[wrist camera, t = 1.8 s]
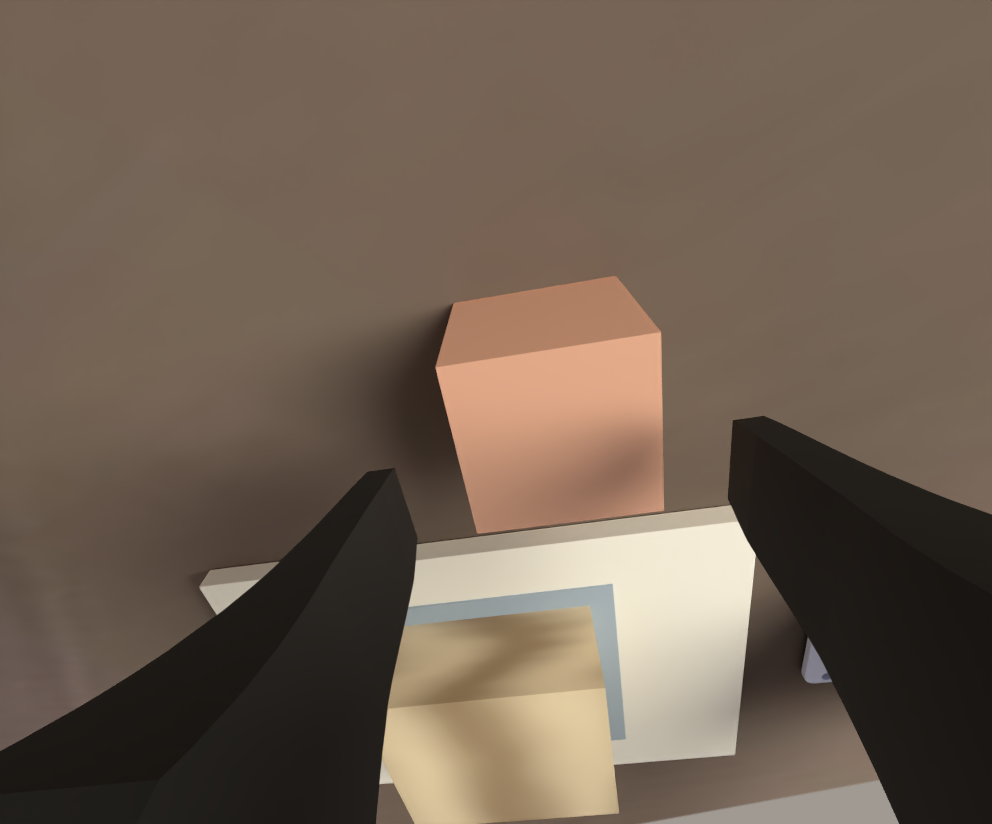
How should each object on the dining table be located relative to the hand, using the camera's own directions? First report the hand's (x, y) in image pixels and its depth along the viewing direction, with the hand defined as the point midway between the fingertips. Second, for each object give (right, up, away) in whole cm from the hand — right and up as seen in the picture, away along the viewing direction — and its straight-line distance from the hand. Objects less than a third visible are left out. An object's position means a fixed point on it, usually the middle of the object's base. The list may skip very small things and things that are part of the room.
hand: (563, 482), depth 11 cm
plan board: (-1, -10, +13) cm, 17 cm away
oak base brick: (-1, -11, +12) cm, 17 cm away
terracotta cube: (0, +3, +6) cm, 7 cm away
